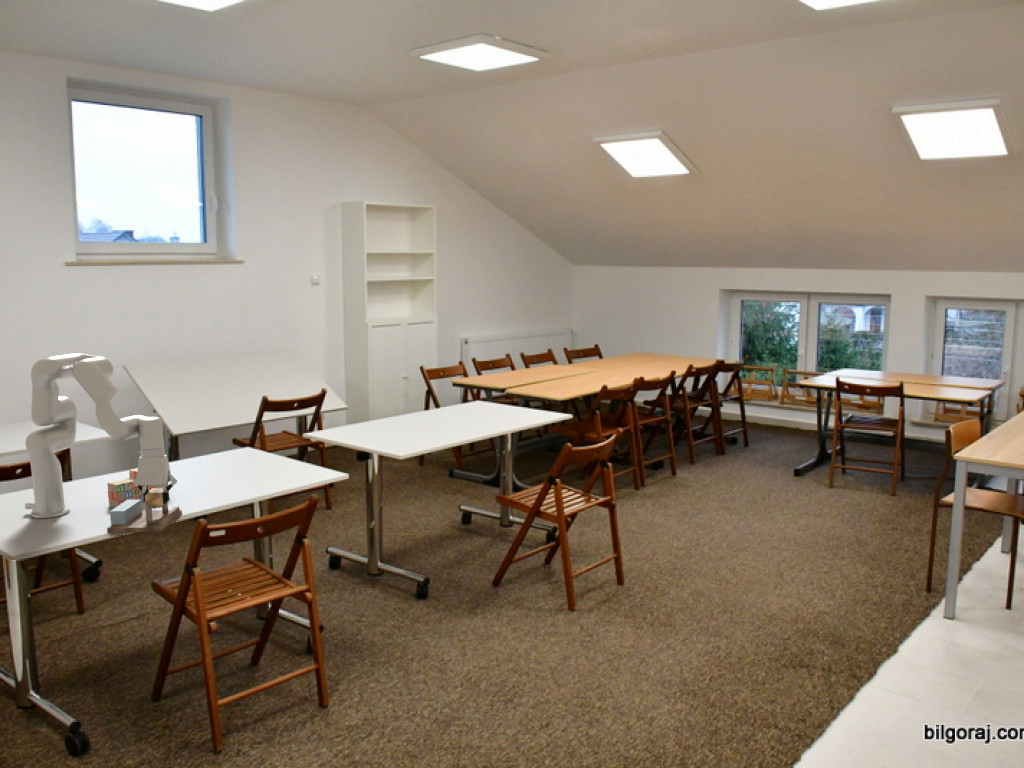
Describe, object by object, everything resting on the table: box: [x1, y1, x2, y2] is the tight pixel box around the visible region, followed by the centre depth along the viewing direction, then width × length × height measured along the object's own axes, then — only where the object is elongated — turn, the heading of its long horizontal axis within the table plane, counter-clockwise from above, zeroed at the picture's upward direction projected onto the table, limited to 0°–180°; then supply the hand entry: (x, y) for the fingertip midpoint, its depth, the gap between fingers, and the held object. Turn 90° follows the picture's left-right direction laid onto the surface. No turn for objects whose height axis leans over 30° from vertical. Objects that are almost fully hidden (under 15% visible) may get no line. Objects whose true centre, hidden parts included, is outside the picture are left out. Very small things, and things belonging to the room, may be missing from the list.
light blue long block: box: [109, 500, 143, 526], centre depth 302 cm, size 5×14×5 cm, turn 1°
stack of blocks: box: [107, 467, 162, 509], centre depth 329 cm, size 21×6×12 cm, turn 145°
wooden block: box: [144, 488, 164, 509], centre depth 301 cm, size 5×10×4 cm, turn 10°
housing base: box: [106, 501, 183, 533], centre depth 302 cm, size 18×20×8 cm
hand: (156, 502), depth 301 cm, fingers closed on wooden block, 5 cm apart
